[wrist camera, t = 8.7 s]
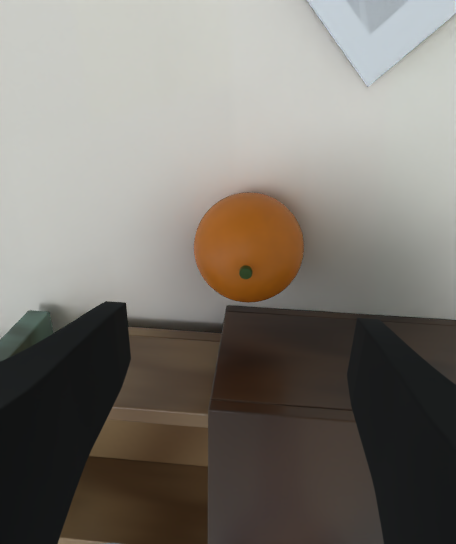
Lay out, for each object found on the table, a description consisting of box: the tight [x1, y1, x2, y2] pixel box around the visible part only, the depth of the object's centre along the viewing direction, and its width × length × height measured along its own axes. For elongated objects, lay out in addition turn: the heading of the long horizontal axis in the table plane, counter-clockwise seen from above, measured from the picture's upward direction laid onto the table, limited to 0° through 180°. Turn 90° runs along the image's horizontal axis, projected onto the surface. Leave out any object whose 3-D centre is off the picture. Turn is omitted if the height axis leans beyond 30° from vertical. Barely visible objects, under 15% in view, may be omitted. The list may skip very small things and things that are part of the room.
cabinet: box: [208, 306, 456, 544], centre depth 22 cm, size 14×12×8 cm
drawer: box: [0, 310, 222, 544], centre depth 23 cm, size 18×11×6 cm, turn 89°
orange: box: [194, 192, 304, 302], centre depth 19 cm, size 5×5×5 cm
